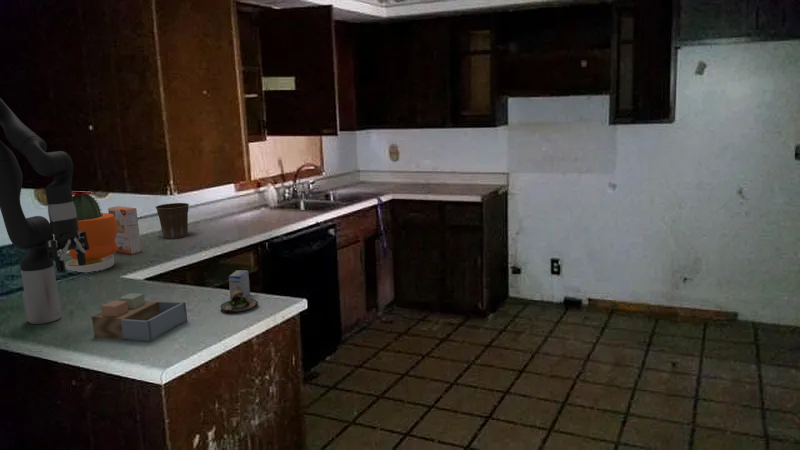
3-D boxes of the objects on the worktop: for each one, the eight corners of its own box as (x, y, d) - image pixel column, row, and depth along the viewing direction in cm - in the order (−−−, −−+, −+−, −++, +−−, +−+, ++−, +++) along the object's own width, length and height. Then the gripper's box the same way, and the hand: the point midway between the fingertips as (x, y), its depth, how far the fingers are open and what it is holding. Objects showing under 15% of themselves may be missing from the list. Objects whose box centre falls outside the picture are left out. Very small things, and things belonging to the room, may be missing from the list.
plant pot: (192, 237, 330) (189, 206, 327) (158, 241, 325) (154, 209, 322) (192, 232, 345) (188, 201, 342) (159, 235, 340) (156, 204, 337)
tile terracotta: (102, 315, 192) (101, 305, 191) (114, 310, 196) (113, 300, 196) (116, 316, 190) (115, 306, 190) (128, 311, 195) (127, 301, 194)
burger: (222, 317, 205) (220, 294, 204) (218, 307, 216) (216, 285, 214) (261, 311, 209) (259, 289, 208) (255, 301, 220) (253, 280, 219)
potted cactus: (55, 274, 268) (42, 189, 261) (89, 260, 289) (78, 182, 283) (103, 274, 264) (92, 188, 258) (134, 260, 286) (124, 181, 279)
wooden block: (94, 336, 192) (91, 316, 191) (131, 318, 207) (128, 300, 206) (125, 338, 189) (123, 318, 188) (160, 320, 204) (158, 301, 203)
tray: (123, 340, 188) (120, 320, 187) (162, 319, 205) (160, 300, 204) (149, 342, 185) (147, 321, 184) (187, 320, 202) (185, 302, 201)
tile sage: (120, 307, 199) (118, 298, 198) (131, 302, 203) (130, 293, 203) (133, 308, 197) (132, 298, 197) (144, 303, 202) (143, 294, 201)
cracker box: (112, 251, 305) (107, 207, 301) (124, 249, 310) (119, 205, 306) (130, 254, 298) (124, 209, 293) (142, 252, 302) (136, 207, 298)
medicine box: (238, 294, 229) (235, 270, 227) (250, 293, 228) (248, 269, 227) (230, 301, 221) (228, 276, 219) (243, 300, 221) (240, 276, 219)
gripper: (70, 213, 207) (78, 263, 210) (34, 222, 194) (44, 275, 197) (89, 212, 205) (98, 263, 208) (55, 221, 192) (64, 275, 195)
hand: (72, 268), depth 202 cm, fingers open, 8 cm apart
